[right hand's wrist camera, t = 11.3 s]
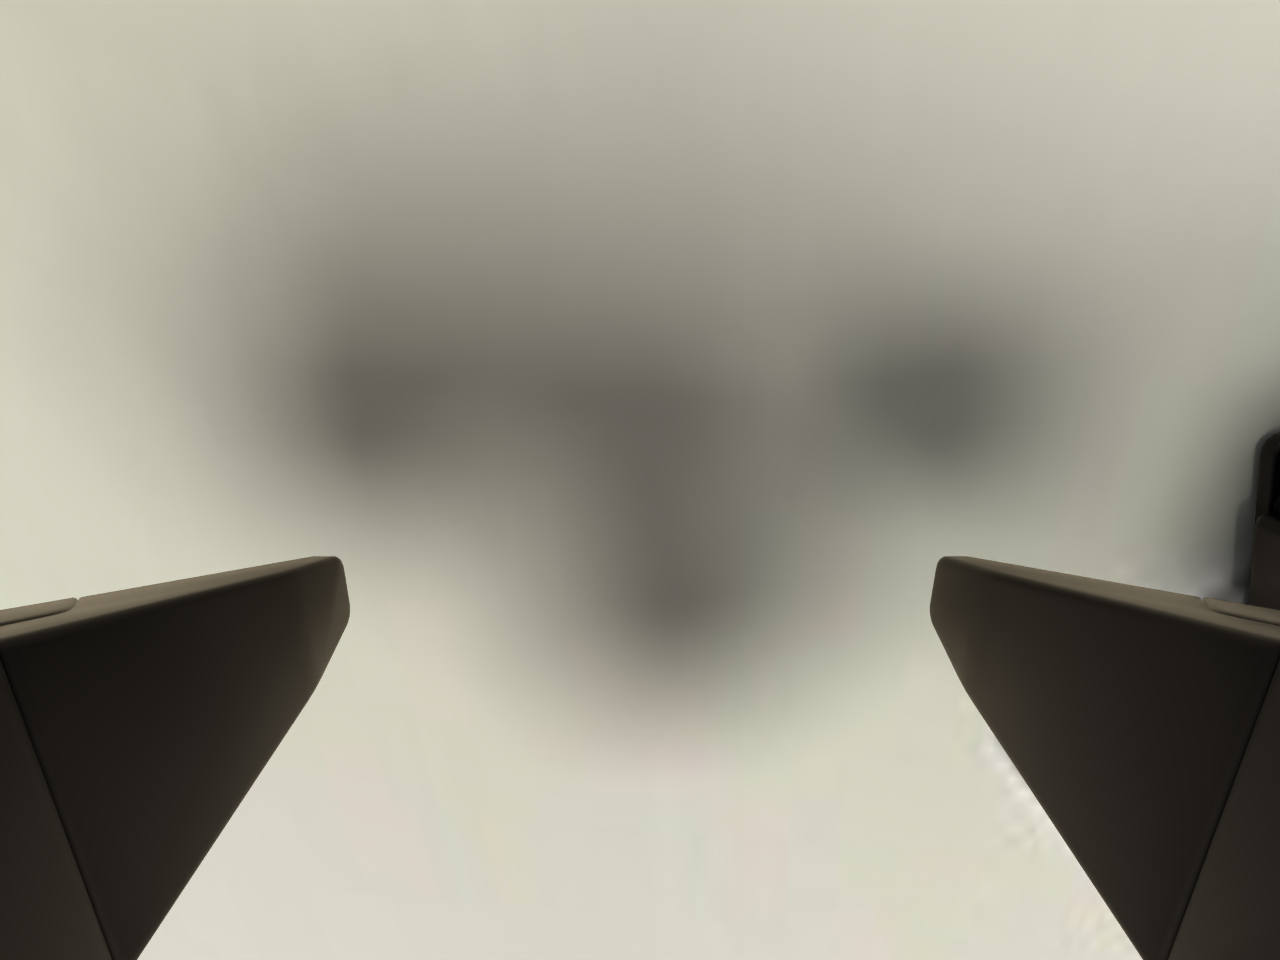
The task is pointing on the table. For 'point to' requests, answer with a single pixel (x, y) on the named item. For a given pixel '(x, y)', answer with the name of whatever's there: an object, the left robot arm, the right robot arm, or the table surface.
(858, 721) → the table surface
